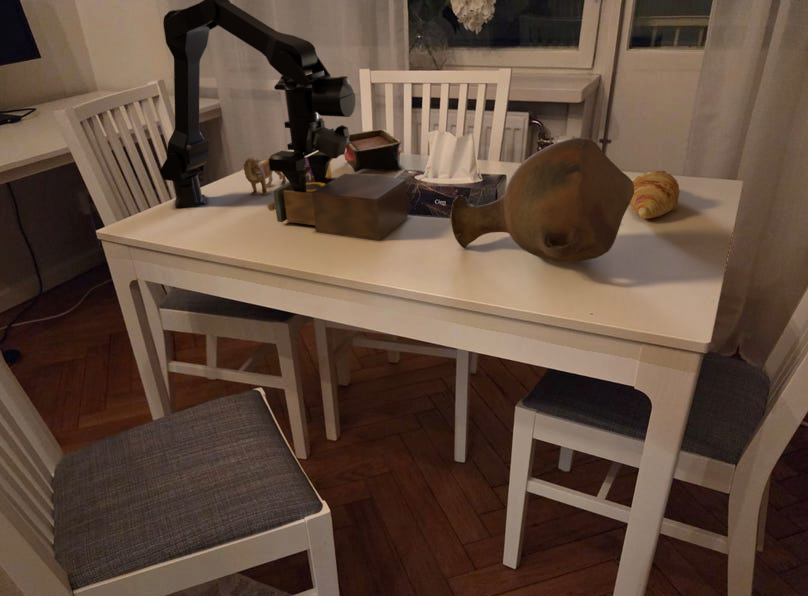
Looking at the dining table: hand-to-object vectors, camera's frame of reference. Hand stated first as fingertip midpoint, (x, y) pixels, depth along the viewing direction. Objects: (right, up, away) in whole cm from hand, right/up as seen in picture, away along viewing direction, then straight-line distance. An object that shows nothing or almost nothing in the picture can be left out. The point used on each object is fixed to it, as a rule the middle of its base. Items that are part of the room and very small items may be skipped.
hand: (312, 195), depth 128 cm
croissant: (+68, -3, -1) cm, 68 cm away
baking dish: (+12, +16, +34) cm, 40 cm away
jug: (+41, -15, -18) cm, 47 cm away
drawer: (-1, -3, +3) cm, 4 cm away
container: (-2, +9, +25) cm, 27 cm away
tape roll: (0, -3, +2) cm, 3 cm away
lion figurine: (-13, +6, +21) cm, 25 cm away
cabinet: (+10, -7, -2) cm, 12 cm away
